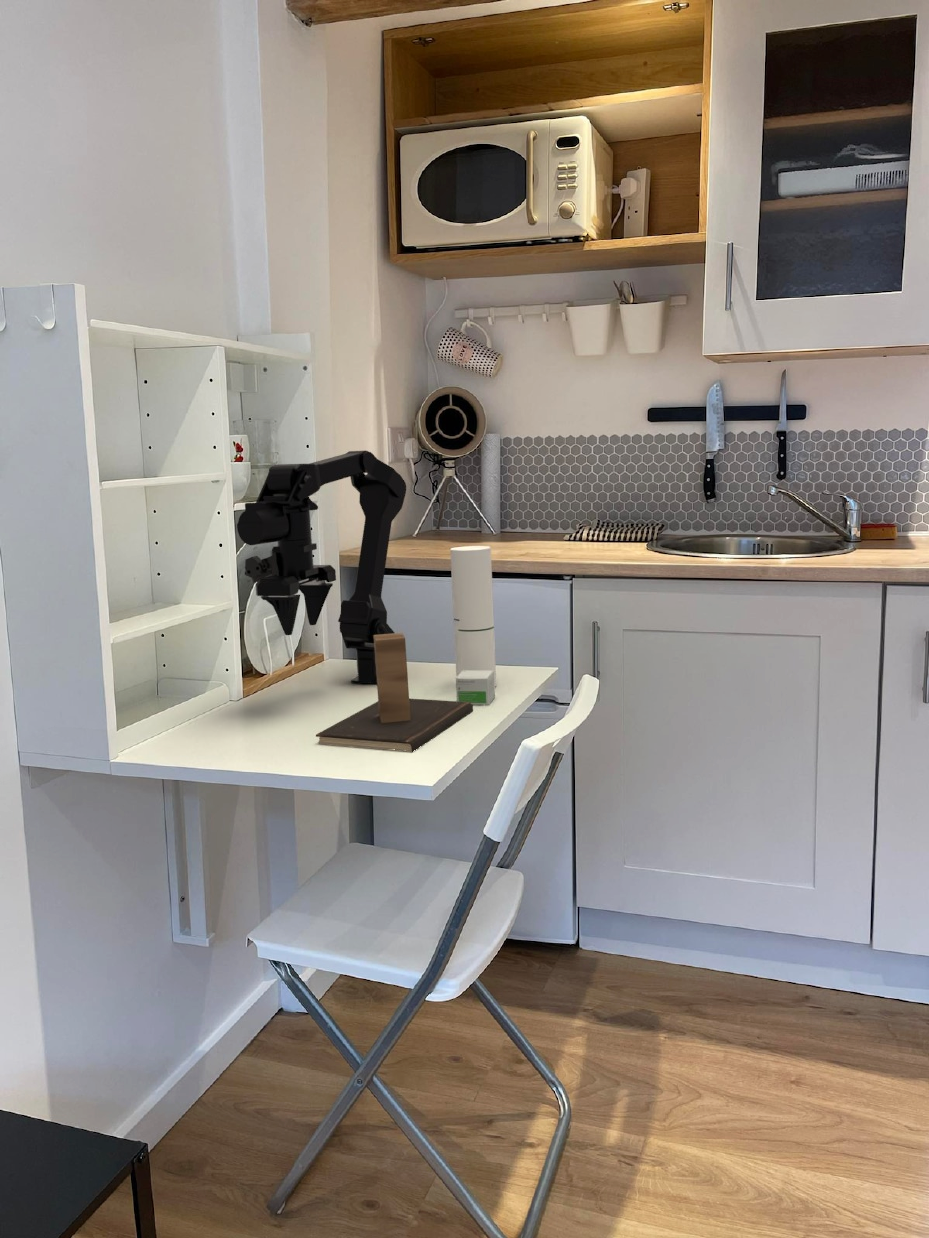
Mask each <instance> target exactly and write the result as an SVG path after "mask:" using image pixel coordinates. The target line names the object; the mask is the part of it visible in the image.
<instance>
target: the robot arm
mask: <svg viewBox="0 0 929 1238" xmlns="http://www.w3.org/2000/svg"><path fill="white" fill-rule="evenodd" d="M365 473H366V474H365ZM346 478H350V482H351V486H352V487H353V488H354V489H355V490H356V491H357V492H358V493H359V502H358V503H359V504H360V508H361V511H362V512H363V515H364V526H363V530H362V532H363V533H362V536H361V537H362V538H361V543H360V544H361V546H360V552H359V553H360V554H359V559H358V565H357V573H356V580H355V586H354V592H353V594H352V596H351V597H350V598H349V599H347V600H345V599H344V600H342V602H341V603H340V614H339V618H338V620H337V622H338V623H339V632H340V634H341V636H342V640H343V642H344V646H345V648H346V649H349V650H350V649H352V650H353V649H354V650H355V655H356V669H357V676H356V677H354V678H352V679H351V680H350V683H351V684H376V685H377V676H376V663H375V649H374V635H381V634H393V633H395V631H394V630H393V628H391V626H390V625H389V624H388V622H387V621H388V611H387V608H386V605H385V604H384V601H383V598H382V593H383V592H382V591H383V587H384V586H383V585H384V579H385V571H386V564H387V559H388V558H387V557H388V556H387V555H388V550H389V544H390V537H391V529H392V523H393V521H394V520H395V519H396V517H397V516H398V514H399V513H400V511H401V510H402V508H403V505H404V503H405V502H404V501H405V497H406V494H407V484H406V481H405V480H404V479H403V477H402V475H401V474H399V473H398V472H397V471H396V469H394V467H392V466H390V465H388V464H386V463H385V462H383V461H381V460H380V459H378V458H377V457H376V456H375V455H374V454H373V453H372V452H371V451H368V450H349V451H348V452H346V453H343V454H339V455H336V456H333V457H329V458H324V459H322V460H316V461H314V462H310V463H288V464H287V463H282V464H273V465H272V466H270V467H269V469H268V473H267V475H266V478H265V480H264V483H263V485H262V488H261V489H260V492H259V494H258V497H257V499H256V502H245V503H244V510H243V512H242V513H240V515H239V518H238V520H237V521H238V522H237V524H236V530H237V533H238V536H239V538H240V539H241V541H243V543H245V544H246V545H248V546H256V545H263V544H268V543H269V544H270V543H277V545H274V546H272V548H271V556H268V557H264V558H262V559H261V558H260V557H259V556H257V555H254V556H250V557H248V558H246V559H245V561H244V575H245V576H246V577H248V578H250V579H251V580H252V584H255V593H256V594H255V596H257V597H260V598H261V600H262V601H266V602H267V603H268V604H269V605H271V606H272V607H273V609H274V611H275V613H276V616H277V618H278V621H279V623H280V626H281V628H282V630H283V633H284V635H285V636H292V635H293V631H294V628H295V625H296V624H295V623H296V619H297V614H298V613H297V612H298V608H299V603H300V599H301V594H298V593H299V591H300V593H302V595H303V597H304V604H305V611H306V615H307V619H308V624H309V625H310V626H316V625H317V623H318V621H319V617H320V615H321V612H322V609H323V607H324V604H325V601H326V599H327V597H328V595H329V592H330V591H331V588H332V587H333V585H334V584H333V583H332V582H335V581H337V575H336V569H335V568H334V567H333V566H332V565H331V564H314V558H313V557H314V555H313V554H314V553H313V551H315V550H317V546H318V545H317V543H316V542H315V543H312V541H313V539H312V527H311V525H312V524H311V511H317V510H318V509H319V506H318V504H316V503H315V502H314V501H313V500H311V498H310V497H311V496H312V495H313V494H316V493H318V492H319V491H320V488H321V487H323V486H324V485H326V484H330V483H333V482H337V481H340V480H343V479H346Z"/></svg>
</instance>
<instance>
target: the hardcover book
mask: <svg viewBox="0 0 929 1238" xmlns="http://www.w3.org/2000/svg"><path fill="white" fill-rule="evenodd" d="M409 704H410V718H411V720H409V721H399V722H389V723H381V720H380V716H379V704H378V701H376V702H374V703H372V704H370V705H368V706H367V707H364V708H363V709H361V710H359V711H357V712H356V713H353V714H352V715H350V716H347V717H346V718H344V719H343V720H340V721H339V722H336V723H335V724H333V725H332V726H331V725H330V726H329V727H328V728H326V729H323V730H322V731H319V732H318V733H317V734H315V737H317V738H319V740H318V743H319V745H329V746H338V747H339V746H340V747H350V746H353V748H363V749H374V750H375V749H376V750H377V749H378V750H386V749H395V750H394V751H397V750H406V751H405V752H409V751H412V752H411V753H414V752H415V751H417V750H418V749H420V748H421V747H423V746H424V745H426V744H427V743H429V742H430V741H432V740H434V738H436V737H438V736H439V735H440V734H442V733H444V732H445V731H446V730H448V729H449V728H450V727H453V725H455V724H456V722H457V723H458V722H459V721H461V720H462V719H464V718H465V717H467V716H468V715H470V714H471V713H472V712H473V711H474V709H473V707H474V705H472V704H471V703H470V702H459V701H457V700H456V701H454V700H440V699H423V698H421V699H420V698H410V697H409ZM431 739H432V740H431ZM425 743H426V744H425ZM420 746H421V747H420ZM419 747H420V748H419ZM416 749H417V750H416ZM414 750H415V751H414ZM413 751H414V752H413Z"/></svg>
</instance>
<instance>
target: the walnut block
mask: <svg viewBox="0 0 929 1238" xmlns="http://www.w3.org/2000/svg"><path fill="white" fill-rule="evenodd" d="M374 649H375V663H376V676H377V684H376V685H377V686H376V687H377V688H376V689H377V702H378V704H379V716H380V720H381V723H389V722H399V721H409V720H411V718H410V704H409V698H410V691H409V676H408V663H407V660H408V659H407V646H406V637H405V635H404V633H403V632H397V633H396V632H394V633H393V634H381V635H374Z"/></svg>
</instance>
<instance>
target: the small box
mask: <svg viewBox="0 0 929 1238" xmlns="http://www.w3.org/2000/svg"><path fill="white" fill-rule="evenodd" d="M455 688H456V689H455V692H456V694H455V695H456V701H459V702H470V703H471V704H472V706H475V705H477V706H490V704H491V703H492V701H493V700H494V699H495V697H496V691H495V688H496V687H495V686H494V671H488V670H484V671H483V670H463V671H462V672H461V673H460V674H459V675H458V676H457V677H456V678H455Z"/></svg>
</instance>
